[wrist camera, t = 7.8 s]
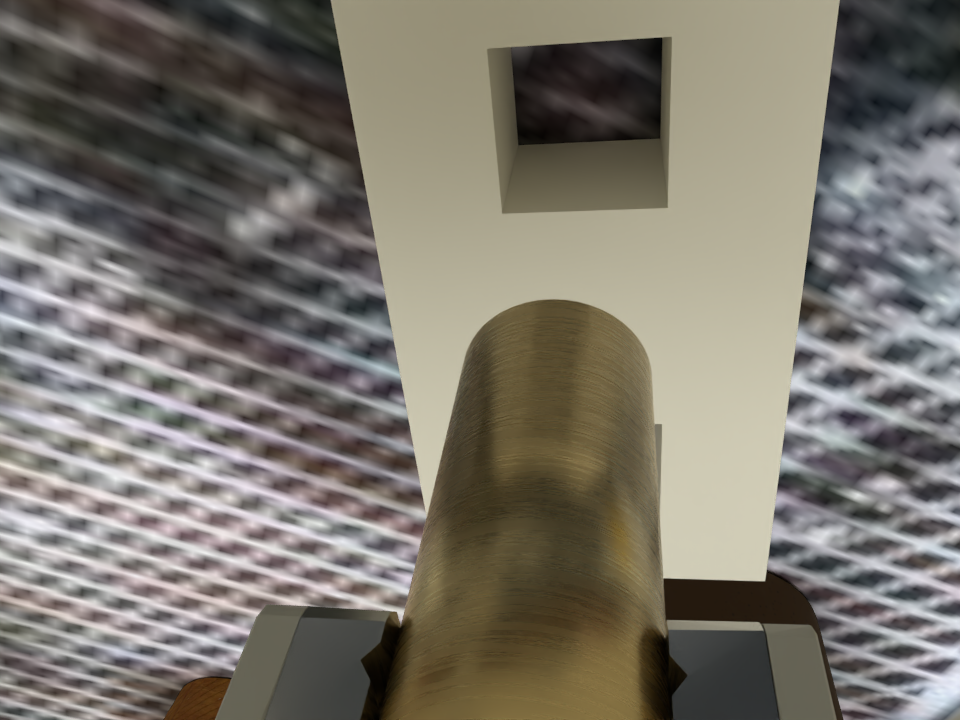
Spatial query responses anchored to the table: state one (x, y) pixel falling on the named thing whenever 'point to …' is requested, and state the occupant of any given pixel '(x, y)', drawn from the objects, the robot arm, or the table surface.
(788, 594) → the brown glass bottle
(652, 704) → the brass pin
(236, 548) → the table surface
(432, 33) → the hole block
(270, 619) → the robot arm
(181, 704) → the disposable coffee cup
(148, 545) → the table surface
